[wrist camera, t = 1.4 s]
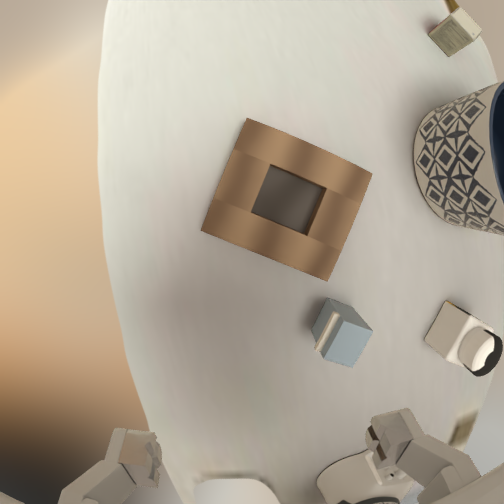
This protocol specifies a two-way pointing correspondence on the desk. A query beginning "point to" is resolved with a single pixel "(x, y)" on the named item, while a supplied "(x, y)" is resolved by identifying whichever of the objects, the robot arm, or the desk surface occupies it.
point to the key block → (340, 333)
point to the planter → (465, 160)
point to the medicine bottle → (464, 340)
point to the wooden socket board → (286, 199)
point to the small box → (455, 32)
